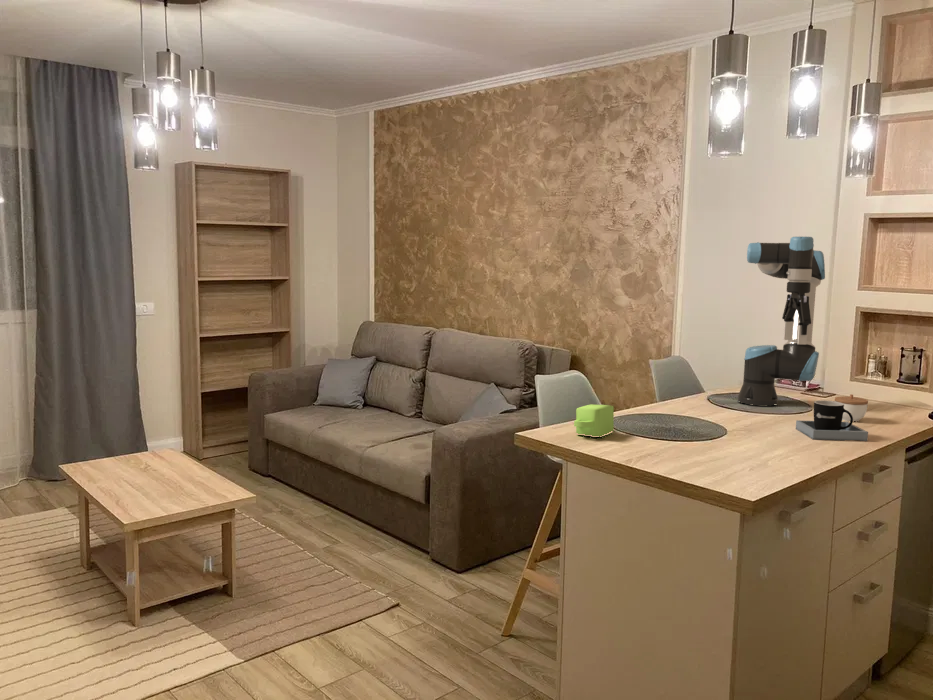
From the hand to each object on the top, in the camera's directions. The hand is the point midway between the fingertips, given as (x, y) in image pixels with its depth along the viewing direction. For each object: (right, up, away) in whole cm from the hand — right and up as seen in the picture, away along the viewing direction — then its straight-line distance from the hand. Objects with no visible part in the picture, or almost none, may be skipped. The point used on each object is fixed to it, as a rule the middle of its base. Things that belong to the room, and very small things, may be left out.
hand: (794, 342), depth 262 cm
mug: (+6, -31, -15) cm, 35 cm away
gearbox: (-74, -30, -18) cm, 82 cm away
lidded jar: (+24, -28, +9) cm, 38 cm away
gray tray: (+5, -31, -15) cm, 35 cm away
